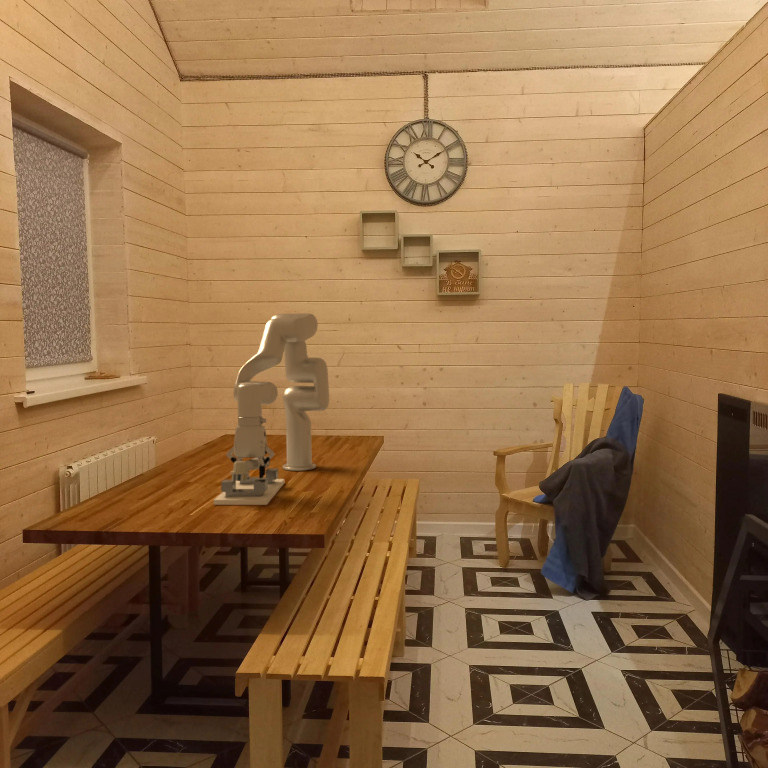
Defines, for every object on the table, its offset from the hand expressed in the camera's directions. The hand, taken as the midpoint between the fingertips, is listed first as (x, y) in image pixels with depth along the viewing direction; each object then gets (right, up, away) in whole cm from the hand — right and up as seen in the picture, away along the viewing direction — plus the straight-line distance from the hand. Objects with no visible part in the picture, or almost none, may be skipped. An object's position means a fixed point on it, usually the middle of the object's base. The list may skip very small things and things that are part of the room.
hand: (250, 477), depth 220 cm
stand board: (0, -5, +1) cm, 5 cm away
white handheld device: (0, 0, 0) cm, 1 cm away
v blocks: (0, -4, 0) cm, 4 cm away
